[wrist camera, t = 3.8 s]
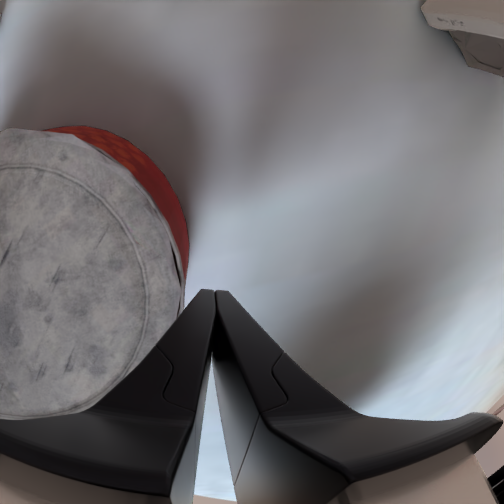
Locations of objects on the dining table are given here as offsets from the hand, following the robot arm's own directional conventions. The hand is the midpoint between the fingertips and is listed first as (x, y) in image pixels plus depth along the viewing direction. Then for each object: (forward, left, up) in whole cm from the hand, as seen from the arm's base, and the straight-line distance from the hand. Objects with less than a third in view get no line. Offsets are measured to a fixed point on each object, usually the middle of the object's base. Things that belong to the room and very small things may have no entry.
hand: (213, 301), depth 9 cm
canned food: (+6, 0, -3) cm, 7 cm away
